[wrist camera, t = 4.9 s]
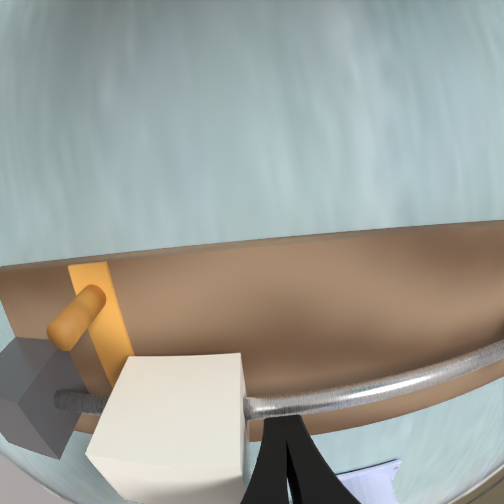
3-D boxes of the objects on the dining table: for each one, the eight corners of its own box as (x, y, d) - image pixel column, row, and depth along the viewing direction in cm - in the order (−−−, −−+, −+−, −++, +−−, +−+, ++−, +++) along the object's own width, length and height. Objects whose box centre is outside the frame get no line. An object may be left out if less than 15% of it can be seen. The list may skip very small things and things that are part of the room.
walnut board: (510, 362, 16) (539, 394, 12) (72, 419, 17) (50, 464, 12) (548, 217, 13) (594, 236, 8) (1, 266, 13) (-49, 300, 8)
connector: (90, 395, 14) (59, 459, 10) (42, 388, 14) (8, 442, 10) (64, 340, 13) (17, 403, 8) (15, 336, 13) (-31, 387, 8)
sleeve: (248, 408, 13) (251, 508, 8) (150, 409, 13) (125, 500, 8) (240, 352, 12) (239, 467, 7) (128, 356, 12) (85, 454, 7)
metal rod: (520, 318, 15) (557, 349, 11) (93, 379, 15) (64, 432, 11) (531, 281, 14) (572, 309, 10) (75, 337, 14) (37, 390, 10)
